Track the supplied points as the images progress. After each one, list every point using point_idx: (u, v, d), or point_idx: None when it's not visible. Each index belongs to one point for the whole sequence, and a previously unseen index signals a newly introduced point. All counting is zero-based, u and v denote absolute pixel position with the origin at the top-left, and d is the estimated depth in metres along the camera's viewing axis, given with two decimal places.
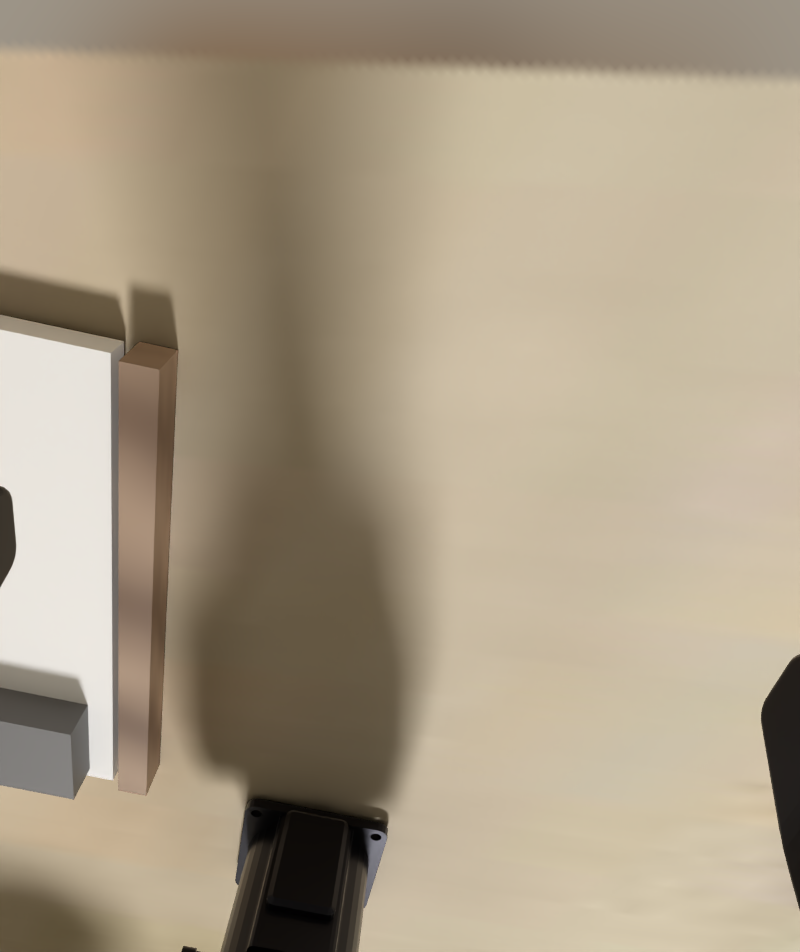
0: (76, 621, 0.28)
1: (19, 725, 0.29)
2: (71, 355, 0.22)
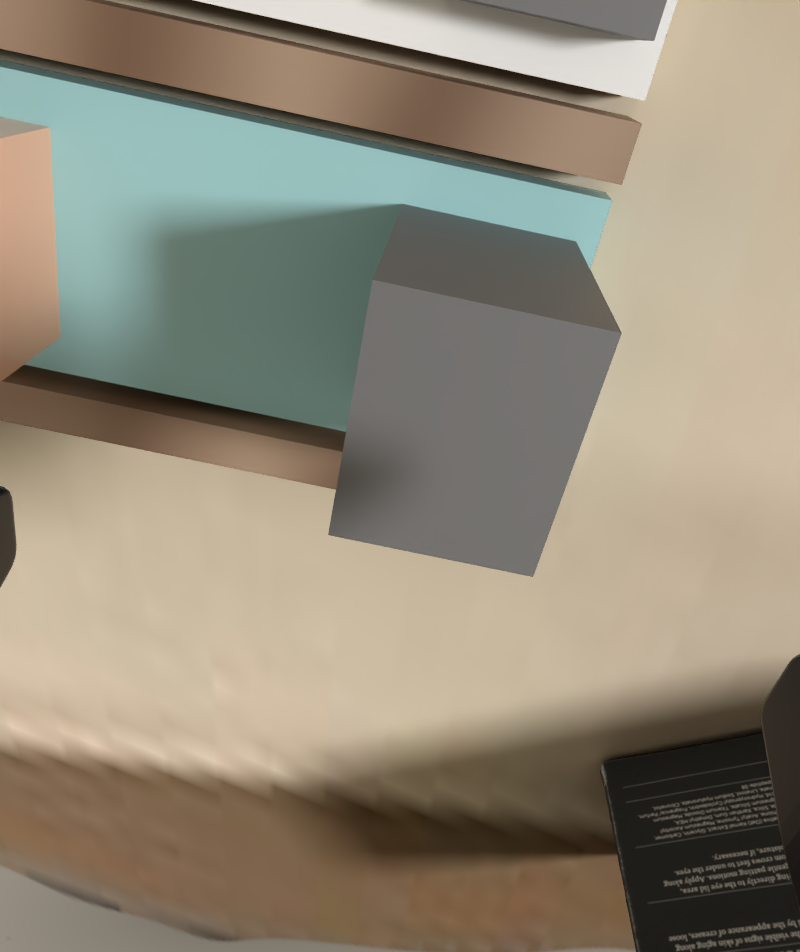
0: None
1: None
2: None
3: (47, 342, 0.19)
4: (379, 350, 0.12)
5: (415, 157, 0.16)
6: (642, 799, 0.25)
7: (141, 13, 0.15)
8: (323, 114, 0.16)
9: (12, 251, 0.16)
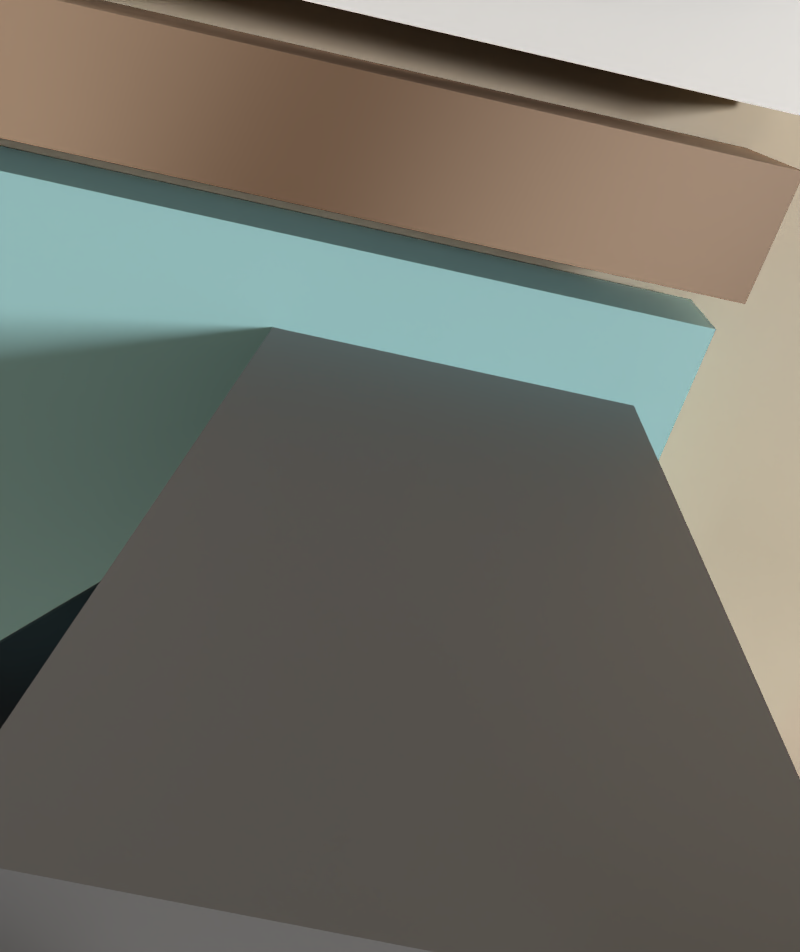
0: None
1: None
2: None
3: None
4: None
5: (292, 234, 0.08)
6: None
7: None
8: (70, 142, 0.07)
9: None
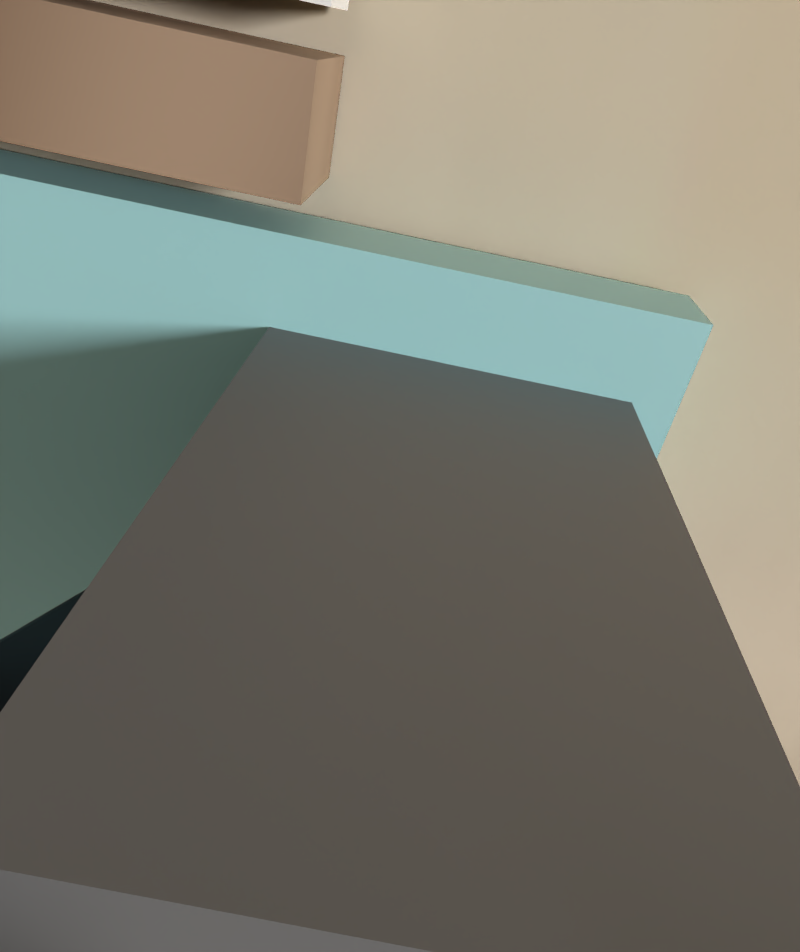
0: None
1: None
2: None
3: None
4: None
5: (288, 233, 0.08)
6: None
7: None
8: None
9: None
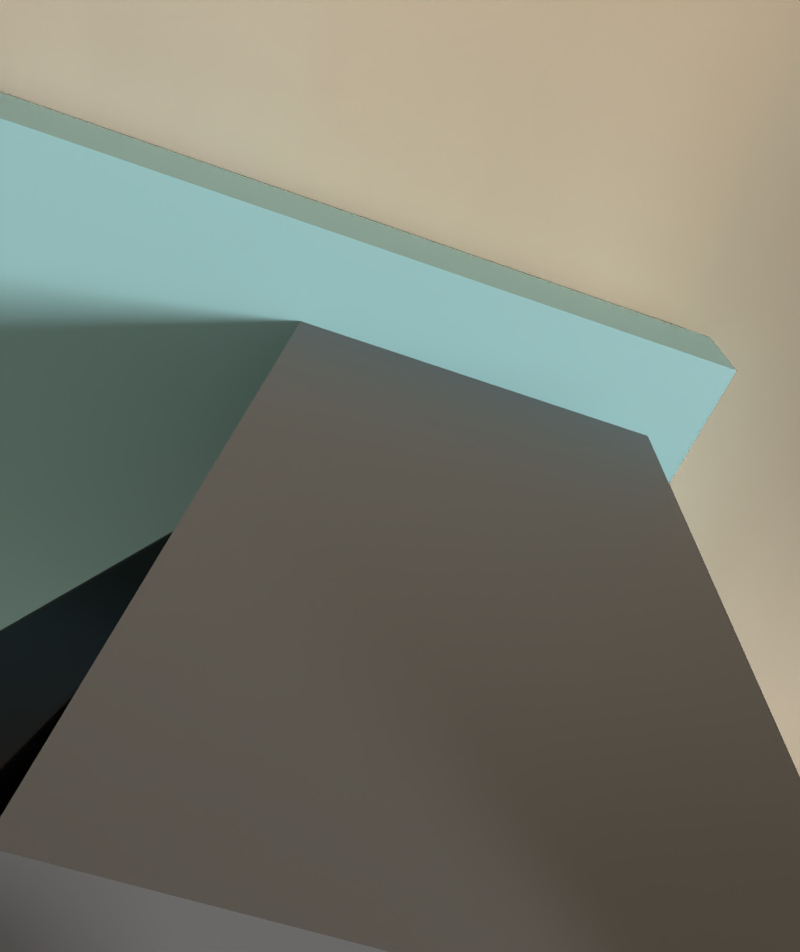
0: None
1: None
2: None
3: None
4: None
5: (333, 231, 0.07)
6: None
7: None
8: None
9: None
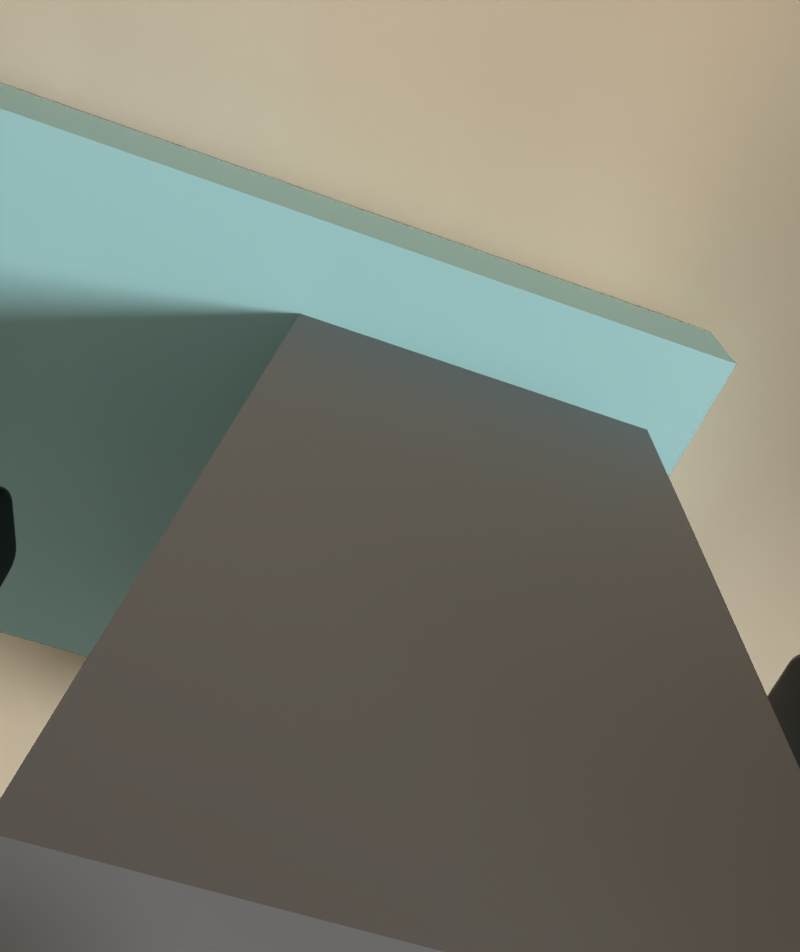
0: None
1: None
2: None
3: None
4: None
5: (332, 222, 0.07)
6: None
7: None
8: None
9: None
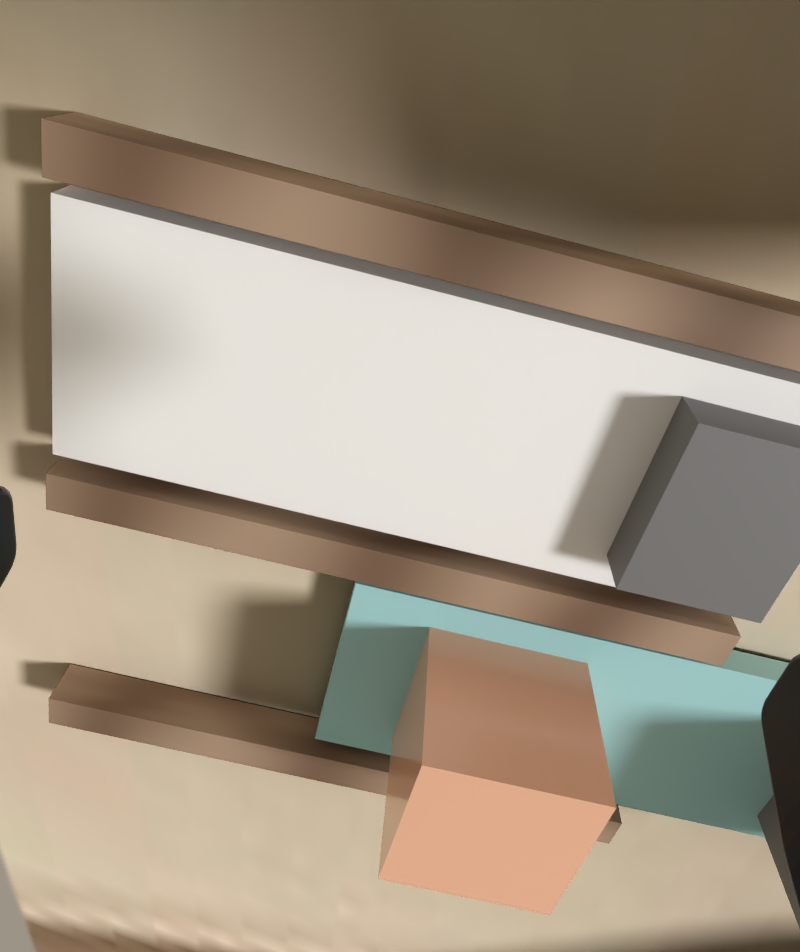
0: (503, 363, 0.18)
1: (665, 494, 0.18)
2: (65, 247, 0.18)
3: None
4: None
5: None
6: None
7: (390, 553, 0.21)
8: (512, 615, 0.22)
9: None
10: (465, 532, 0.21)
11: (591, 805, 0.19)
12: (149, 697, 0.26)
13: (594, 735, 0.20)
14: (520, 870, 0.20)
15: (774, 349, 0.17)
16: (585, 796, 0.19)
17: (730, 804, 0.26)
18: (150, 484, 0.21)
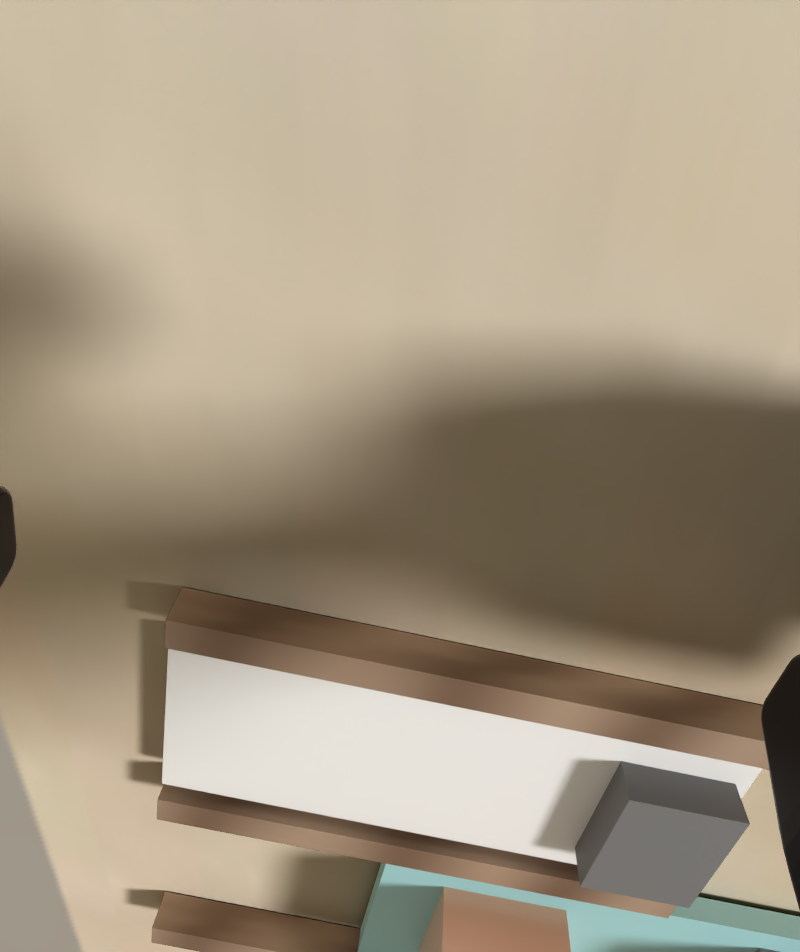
0: (490, 741, 0.25)
1: (610, 836, 0.25)
2: (177, 675, 0.25)
3: None
4: None
5: (771, 933, 0.30)
6: None
7: (412, 847, 0.28)
8: (506, 885, 0.29)
9: None
10: (468, 833, 0.28)
11: None
12: (227, 919, 0.33)
13: None
14: None
15: (682, 744, 0.24)
16: None
17: None
18: (232, 798, 0.28)
